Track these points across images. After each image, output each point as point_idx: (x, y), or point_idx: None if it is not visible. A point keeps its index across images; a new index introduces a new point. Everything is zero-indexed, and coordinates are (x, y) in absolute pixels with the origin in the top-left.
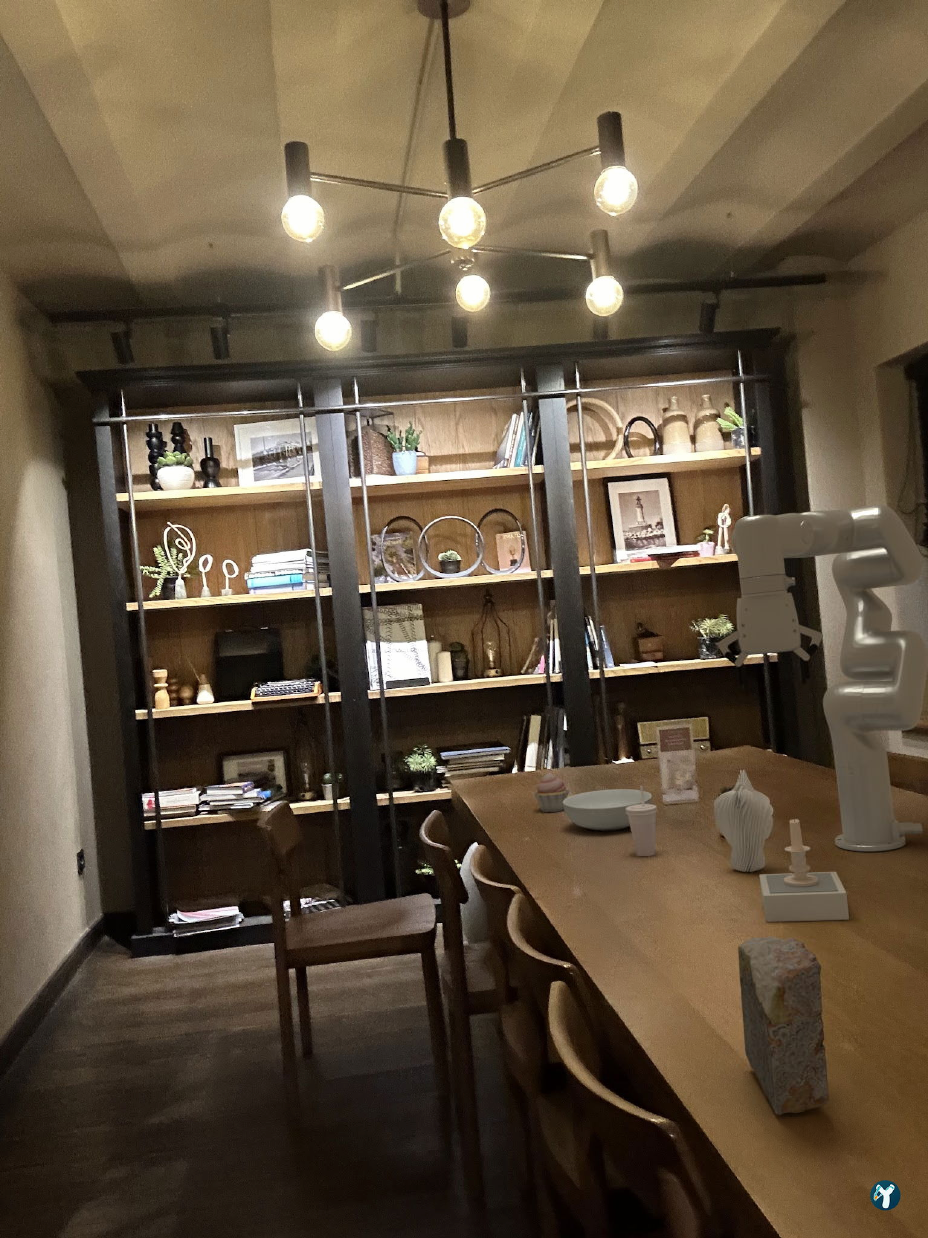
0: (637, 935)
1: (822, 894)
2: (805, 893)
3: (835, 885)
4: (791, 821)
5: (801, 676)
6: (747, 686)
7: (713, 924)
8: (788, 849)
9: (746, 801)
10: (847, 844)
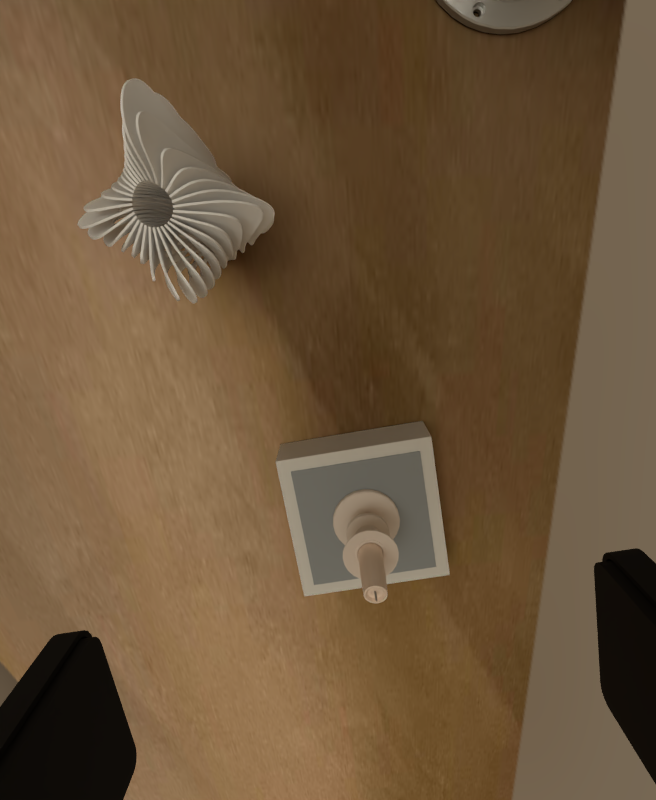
0: (112, 643)
1: (407, 580)
2: None
3: (431, 537)
4: (367, 591)
5: (641, 757)
6: (131, 777)
7: (221, 585)
8: (350, 556)
9: (196, 283)
10: (450, 5)
